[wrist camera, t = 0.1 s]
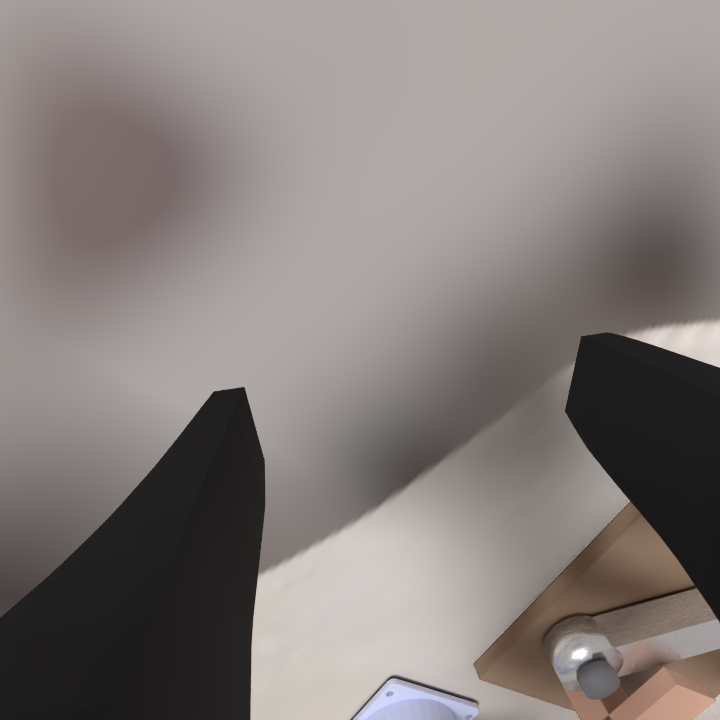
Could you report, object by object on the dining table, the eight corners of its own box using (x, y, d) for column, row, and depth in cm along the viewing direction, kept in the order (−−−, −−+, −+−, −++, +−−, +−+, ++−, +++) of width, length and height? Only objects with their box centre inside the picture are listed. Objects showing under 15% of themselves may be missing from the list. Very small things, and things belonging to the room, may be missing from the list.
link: (544, 665, 29) (560, 698, 27) (542, 625, 27) (559, 657, 25) (782, 599, 29) (814, 626, 28) (793, 556, 28) (828, 582, 26)
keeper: (516, 670, 29) (546, 737, 25) (584, 603, 27) (626, 664, 24) (600, 700, 32) (638, 764, 28) (667, 640, 30) (716, 700, 26)
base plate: (653, 726, 36) (663, 740, 35) (473, 664, 30) (479, 679, 29) (852, 559, 31) (869, 571, 30) (686, 444, 25) (701, 454, 24)
